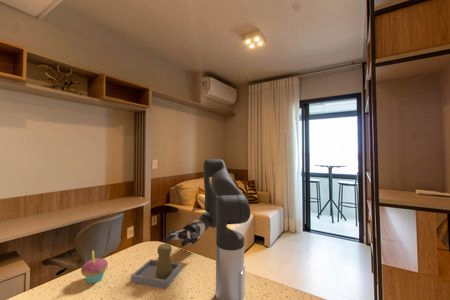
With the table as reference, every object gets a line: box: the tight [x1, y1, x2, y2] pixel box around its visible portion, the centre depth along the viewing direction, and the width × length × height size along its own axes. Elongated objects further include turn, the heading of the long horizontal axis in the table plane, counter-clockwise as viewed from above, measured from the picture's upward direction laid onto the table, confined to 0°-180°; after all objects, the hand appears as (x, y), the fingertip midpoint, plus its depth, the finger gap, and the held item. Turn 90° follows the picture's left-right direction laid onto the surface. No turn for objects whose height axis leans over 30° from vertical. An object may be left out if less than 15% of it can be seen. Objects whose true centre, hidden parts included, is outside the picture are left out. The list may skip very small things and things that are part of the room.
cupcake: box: [80, 250, 109, 284], centre depth 79 cm, size 9×8×12 cm
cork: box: [156, 243, 173, 279], centre depth 81 cm, size 6×6×11 cm
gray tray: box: [130, 258, 182, 290], centre depth 81 cm, size 14×12×2 cm
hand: (173, 242), depth 90 cm, fingers open, 8 cm apart
